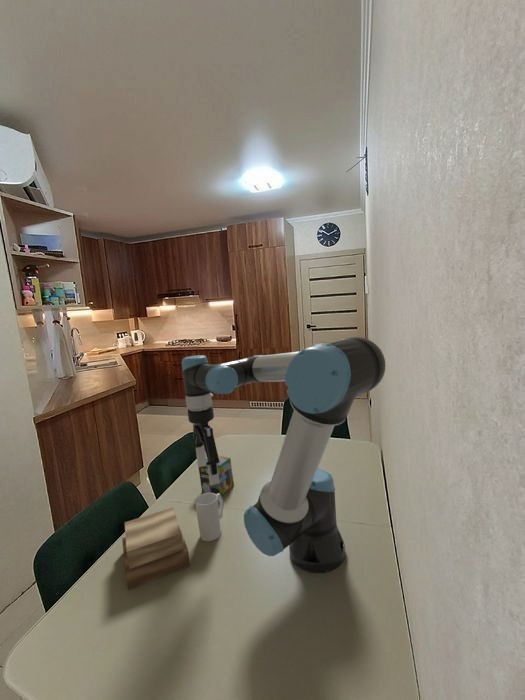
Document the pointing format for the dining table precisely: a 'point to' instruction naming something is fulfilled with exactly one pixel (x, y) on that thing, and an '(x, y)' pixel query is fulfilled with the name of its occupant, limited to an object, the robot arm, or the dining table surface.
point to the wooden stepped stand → (155, 567)
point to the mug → (209, 515)
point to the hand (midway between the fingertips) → (208, 474)
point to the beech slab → (152, 537)
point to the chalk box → (224, 477)
